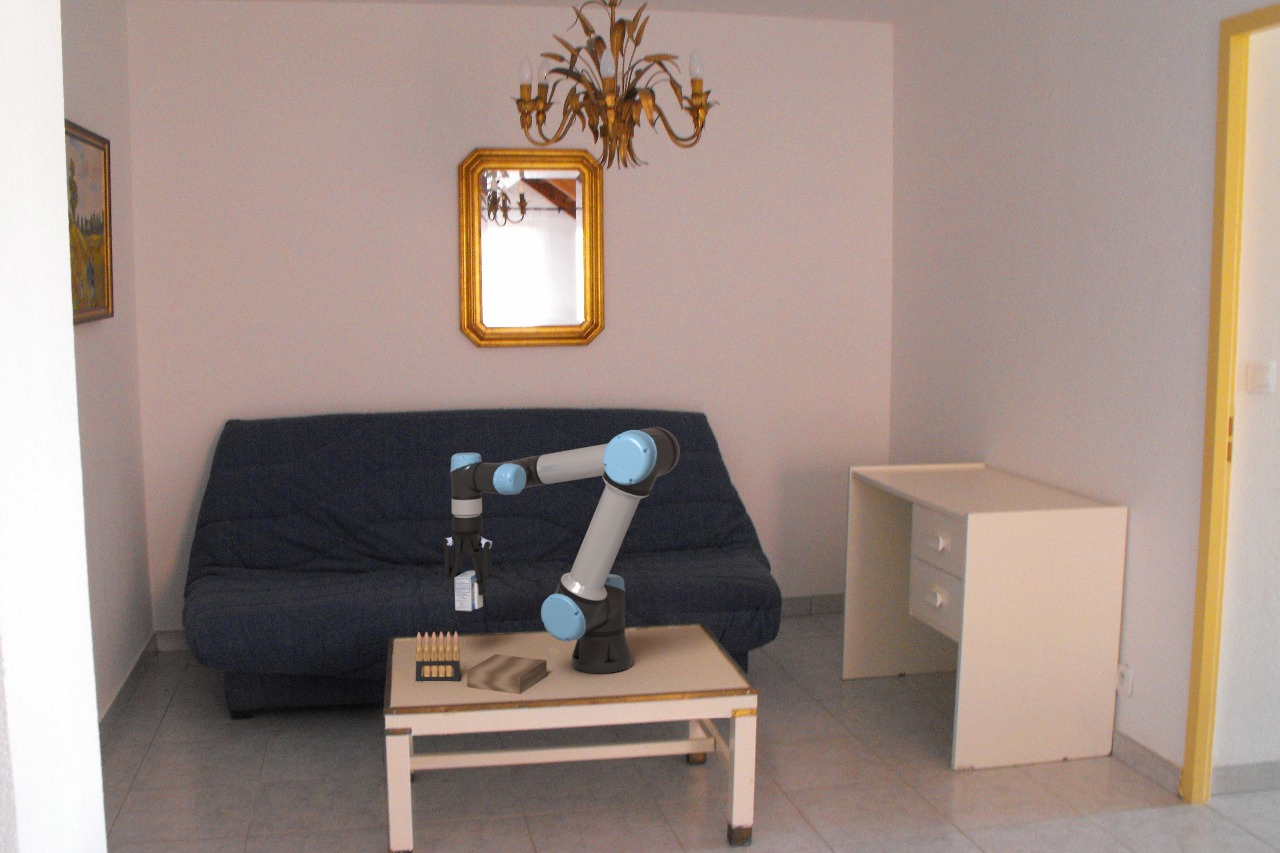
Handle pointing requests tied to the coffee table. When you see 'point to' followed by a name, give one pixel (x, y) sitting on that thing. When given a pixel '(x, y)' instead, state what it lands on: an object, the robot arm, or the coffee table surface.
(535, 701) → the coffee table surface
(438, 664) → the ammunition clip
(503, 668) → the walnut base
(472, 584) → the medicine box
